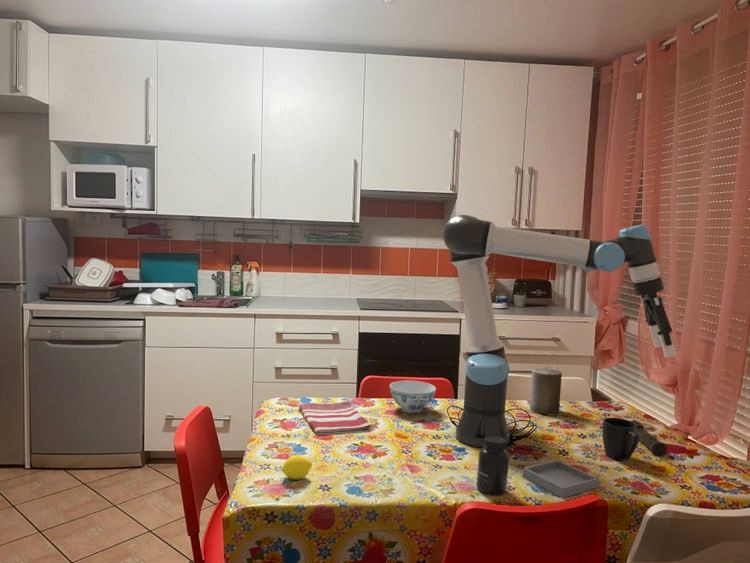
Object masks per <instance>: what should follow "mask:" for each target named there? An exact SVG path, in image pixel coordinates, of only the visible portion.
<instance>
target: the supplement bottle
mask: <svg viewBox="0 0 750 563" xmlns="http://www.w3.org/2000/svg"><path fill="white" fill-rule="evenodd" d="M506 449H507V445H506V440H505V439H504V438H502V437H499V436H486V437H485V441H484V448H481V449H480V451H479V452H478V458H477V459H478V460H477V461H478V462H477V472H476V473H477V474H476V475H477V476H476V488H477V490H478V489H479V490H480V491H479V490H478V491H479V492H480V493H482V492H483V493H482V494H485V495H488V494H489V496H494V495H497V496H502V495H504V494H505V493H506V492H507V488H508V487H507V486H508V477H509V466H510V465H509V464H510V455H509V453H508V452H507V450H506Z"/></svg>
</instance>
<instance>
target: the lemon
mask: <svg viewBox="0 0 750 563" xmlns="http://www.w3.org/2000/svg"><path fill="white" fill-rule="evenodd" d="M312 465H313V463H312V462H311V461H310V460H309V459H308V458H307V457H305V456H304V455H302V454H301V455H299V454H296V455H294V454H293V455H291V456H290V457H288V458H287V459H286V460H285V462H284V463H283V465H282V468H281V471H282V472H283V474H284V475H285V476H286V477H287V478H288V479H291V480H295V481H296V480H300V479H301V480H302V479H303V478H305V477H306V476H307V475H308V474H309V472H310V470H311V468H312Z"/></svg>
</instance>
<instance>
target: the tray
mask: <svg viewBox="0 0 750 563" xmlns="http://www.w3.org/2000/svg"><path fill="white" fill-rule="evenodd" d="M521 476H522V477H523V478H524V479H526V480H527V481H530V482H532V483H534V484H535V485H537V486H539V487H540V488H543V489H544V490H547V491H549V492H550V493H552V494H554V495H555V496H558V497H559V498H567V497H569V496H570V497H571V496H574V495H576V494H580V493H584V492H587V491H591V490H594V489H593V488H595V489H597V488H596V487H599V477H595V476H593V475H591V474H590V473H587V472H585V471H582V470H580V469H579V468H577V467H574V466H572V465H570V464H569V463H566V462H564V461H562V460H560V459H554V460H551V461H547V462H542V463H538V464H533V465H530V466H525V467H523V468H522V475H521Z"/></svg>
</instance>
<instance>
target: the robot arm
mask: <svg viewBox="0 0 750 563" xmlns="http://www.w3.org/2000/svg"><path fill="white" fill-rule="evenodd" d="M442 240H443V242H444V245H445V246H446V247H447V249H448V251H449V252H448V254H449V257H450V262H451V264H452V265H453V266H454V267H456V269H457V270H456V271H457V274H458V276H457V277H458V282H459V286H460V287H459V288H460V293H461V299H462V304H463V305H462V306H463V311H464V316H465V322H466V330H467V334H468V340H469V345H468V346H467V348H466V349H465V352H466V359H467V361H466V365H465V370H464V371H465V381H464V396H463V408H462V409H463V410H462V412H461V415H460V419H459V420H458V421H459V422H458V424H457V425H456V428H455V438H456V439H457V440H458V441H459V442H461V443H463V444H466V445H469V446H472V447H476V448H481V449H482V448H484V441H485V437H486V436H499V437H502V438H504V439H505V440H506V446H508V444H509V443H510V436H511V435H510V431H509V429H508V424H507V423H508V422H507V418H506V414H505V413H506V401H507V388H508V387H507V386H508V379H509V378H508V377H509V374H510V365H509V362H508V360H507V356H506V350H505V345H504V343H502V342H501V341H500V340H499V339H498V334H497V327H496V321H495V315H494V309H493V303H492V297H491V290H490V284H489V279H488V271H487V267H486V262H487V261H488V259H489V257H490V254H496V255H497V254H498V255H502V256H509V257H516V258H522V259H528V260H536V261H541V262H547V263H548V262H550V263H555V264H560V265H561V264H562V265H568V266H574V267H582V269H583V271H584V272H593V271H599V270H600V271H602V272H609V273H610V272H614V271H616V270H618V269H620V268H621V267H622V266H623V264H624V263H627V267H628V271H629V272H628V273H629V276H630V278H631V279H630V280H631V281H632V282H633V283H632V288H633V291H634V294H635V295H636V296H641V298H642V302H643V308H644V315H645V321H646V323H647V325H648V327H649V333H650V335H651V340H652V342H653V347H654V348H655V349H657V348H661V347H662V350H663V353H664V357H665V358H671V357H676V356H677V351H676V347H675V344H674V340H673V337H672V336H673V335H672V332H673V328H672V326H671V324H670V321H669V318H668V315H667V313H666V310H665V306H664V304H663V301H662V297H661V296H658V294H657V293H658V292H662V291H663V290H664V289H665V288H664V284H663V280H662V279H663V278H662V277H660V275H661V272H660V270H659V268H660V267H661V264H659V263H658V261H657V257H656V253H655V249H654V246H653V241H652V237H651V233H650V231H649V228H648V226H647V225H646V224H638V225H633V226H630V227H627V228H621V229H620V230H619V236H618V237H615V238H613V239H607V240H603V241H600V240H595V239H594V240H593V239H588V238H580V237H573V236H569V235H568V236H567V235H559V234H554V233H553V234H552V233H546V232H539V231H538V232H537V231H533V230H525V229H519V228H511V227H505V226H499V225H498V226H497V225H495V223H494V221H490V220H489V221H487V220H484V219H483V220H482V219H479V218H477V217H475V216H472V215H468V214H460V215H459V214H458V215H455V216H453V217H452V218H450V219H449V220H448V221H447V222H446V224H445V226H444V228H443V230H442Z"/></svg>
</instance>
